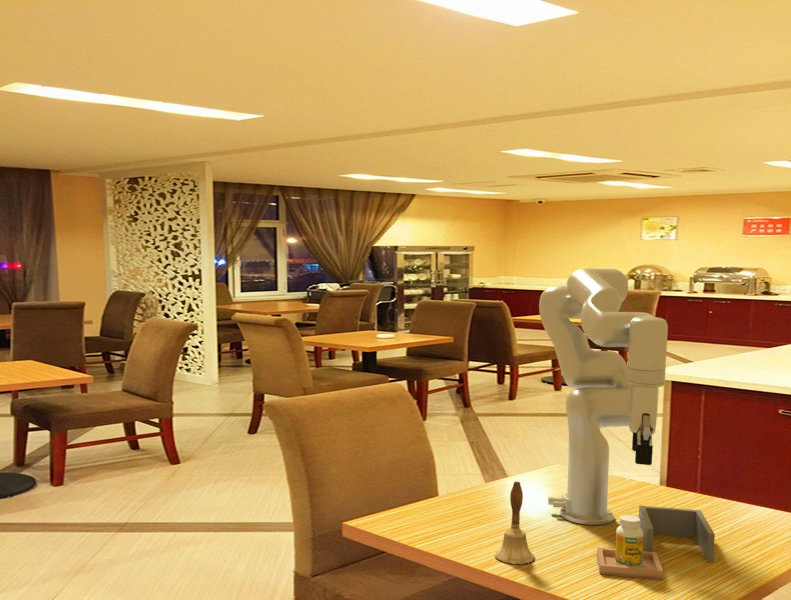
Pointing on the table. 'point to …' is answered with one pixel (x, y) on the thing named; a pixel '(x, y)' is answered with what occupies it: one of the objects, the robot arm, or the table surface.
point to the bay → (676, 527)
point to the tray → (647, 570)
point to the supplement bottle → (629, 542)
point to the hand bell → (515, 534)
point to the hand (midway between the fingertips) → (641, 457)
